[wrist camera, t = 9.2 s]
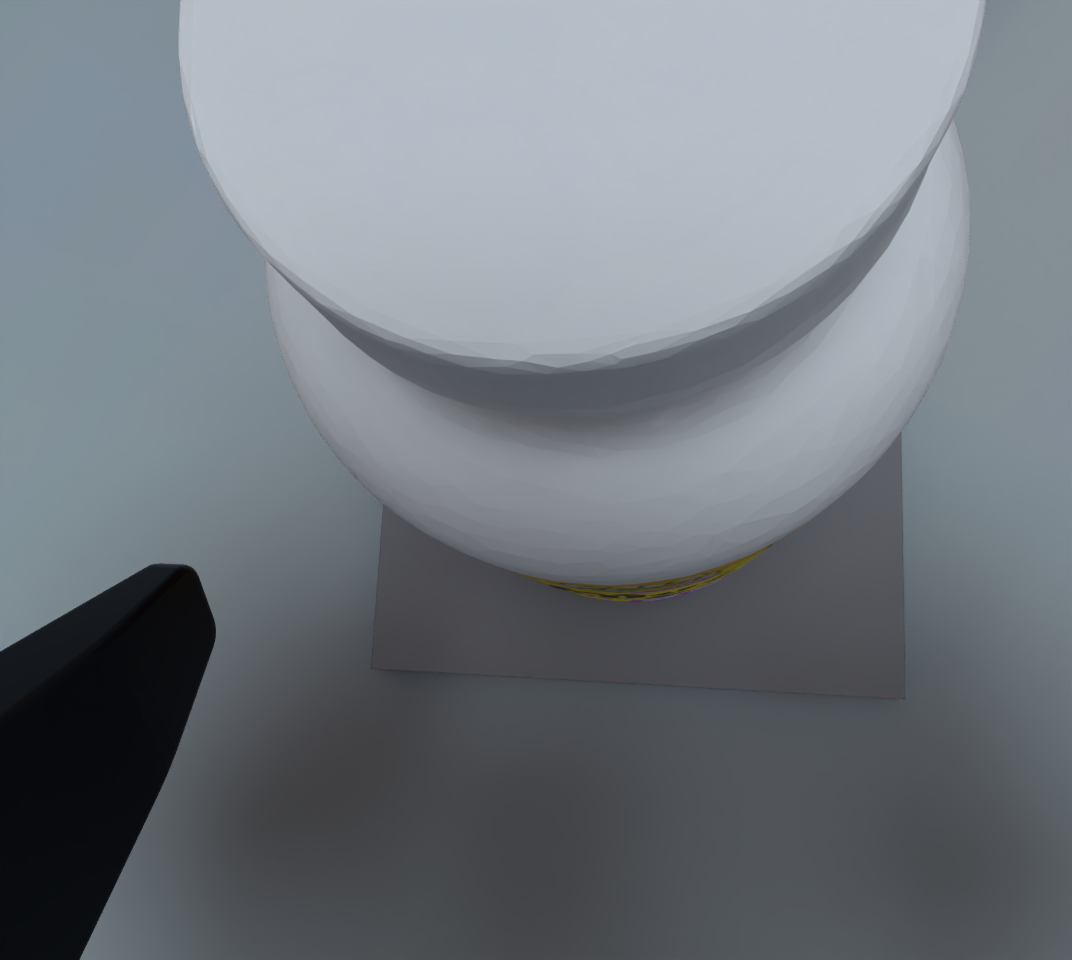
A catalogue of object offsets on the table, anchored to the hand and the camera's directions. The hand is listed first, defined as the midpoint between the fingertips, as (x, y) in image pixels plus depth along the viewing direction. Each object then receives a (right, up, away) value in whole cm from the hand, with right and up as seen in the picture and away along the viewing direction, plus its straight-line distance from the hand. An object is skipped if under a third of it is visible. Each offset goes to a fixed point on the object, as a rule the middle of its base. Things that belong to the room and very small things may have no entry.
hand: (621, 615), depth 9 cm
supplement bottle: (+1, +2, +9) cm, 9 cm away
